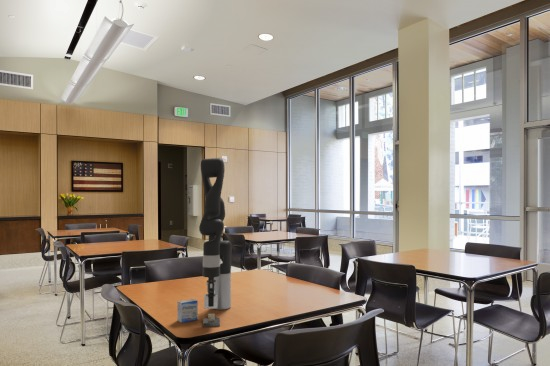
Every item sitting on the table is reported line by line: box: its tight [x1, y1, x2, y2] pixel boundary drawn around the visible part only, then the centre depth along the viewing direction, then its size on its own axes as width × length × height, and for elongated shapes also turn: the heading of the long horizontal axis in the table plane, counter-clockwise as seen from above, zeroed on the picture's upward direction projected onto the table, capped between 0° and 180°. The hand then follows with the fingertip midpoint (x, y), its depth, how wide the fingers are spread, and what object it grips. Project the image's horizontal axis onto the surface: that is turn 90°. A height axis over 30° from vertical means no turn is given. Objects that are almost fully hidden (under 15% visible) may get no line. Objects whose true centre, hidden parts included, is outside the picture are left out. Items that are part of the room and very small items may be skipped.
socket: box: [203, 293, 218, 310], centre depth 169 cm, size 6×6×5 cm
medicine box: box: [176, 298, 199, 324], centre depth 174 cm, size 8×4×9 cm, turn 126°
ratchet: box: [202, 313, 221, 328], centre depth 172 cm, size 15×7×4 cm, turn 9°
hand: (211, 304), depth 168 cm, fingers closed on socket, 5 cm apart
